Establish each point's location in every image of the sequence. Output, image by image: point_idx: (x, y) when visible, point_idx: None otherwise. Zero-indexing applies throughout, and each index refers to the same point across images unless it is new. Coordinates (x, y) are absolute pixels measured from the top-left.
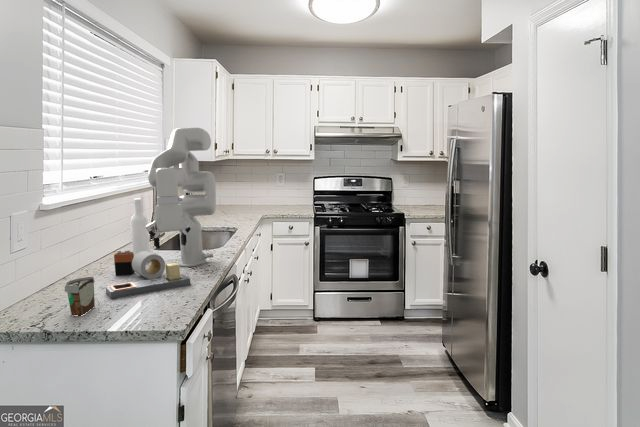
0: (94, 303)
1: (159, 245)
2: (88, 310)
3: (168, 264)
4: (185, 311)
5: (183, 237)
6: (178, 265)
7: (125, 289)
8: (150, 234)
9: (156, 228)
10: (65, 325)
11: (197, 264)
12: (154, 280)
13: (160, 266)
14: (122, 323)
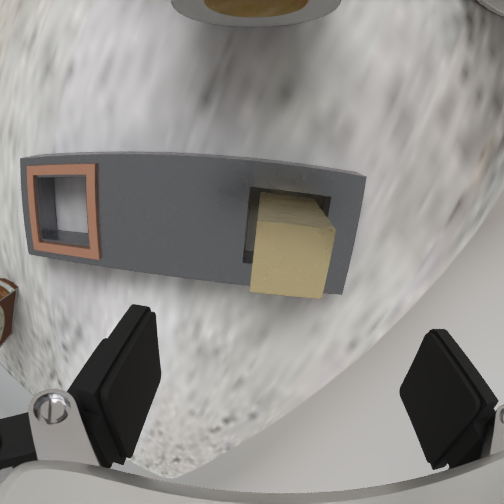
0: (12, 292)
1: (152, 395)
2: (12, 313)
3: (270, 242)
4: (199, 451)
5: (424, 448)
6: (314, 296)
7: (65, 258)
8: (8, 428)
9: (28, 495)
10: (3, 352)
11: (493, 9)
12: (192, 196)
13: (306, 2)
14: None
